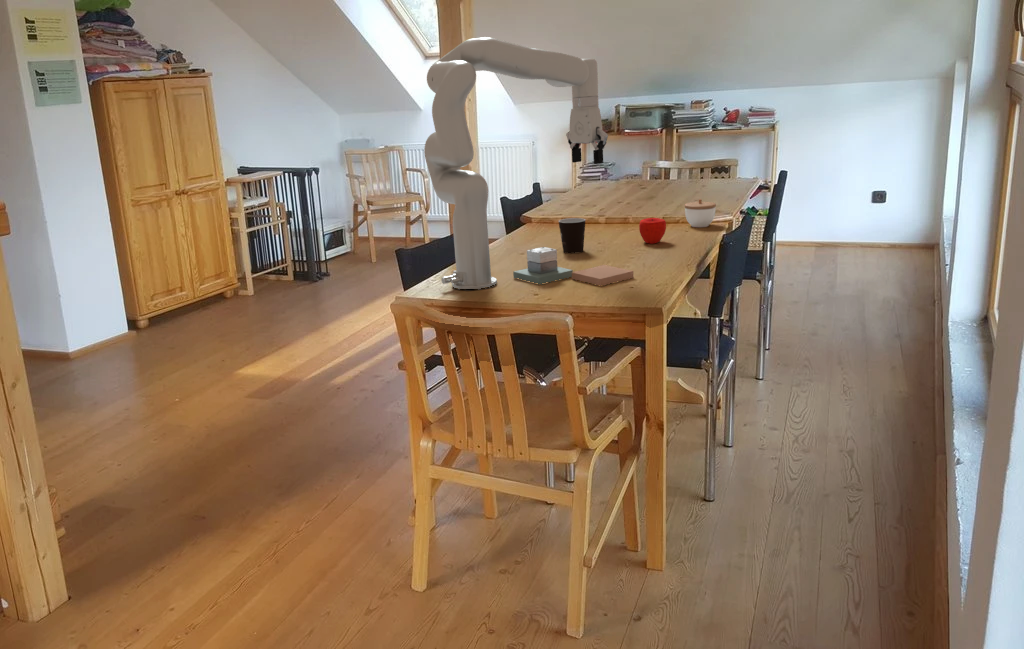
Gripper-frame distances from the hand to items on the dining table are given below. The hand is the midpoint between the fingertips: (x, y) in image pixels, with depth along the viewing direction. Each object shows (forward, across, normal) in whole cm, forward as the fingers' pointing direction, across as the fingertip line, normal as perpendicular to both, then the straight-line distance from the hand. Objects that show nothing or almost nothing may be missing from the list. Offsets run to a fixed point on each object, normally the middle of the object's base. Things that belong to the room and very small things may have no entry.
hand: (587, 162), depth 255 cm
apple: (+29, -4, +30) cm, 42 cm away
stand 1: (+29, +7, -24) cm, 38 cm away
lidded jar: (+29, -11, +61) cm, 69 cm away
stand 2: (+29, +21, -14) cm, 39 cm away
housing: (+27, +7, -24) cm, 37 cm away
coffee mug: (+30, -15, +6) cm, 34 cm away
